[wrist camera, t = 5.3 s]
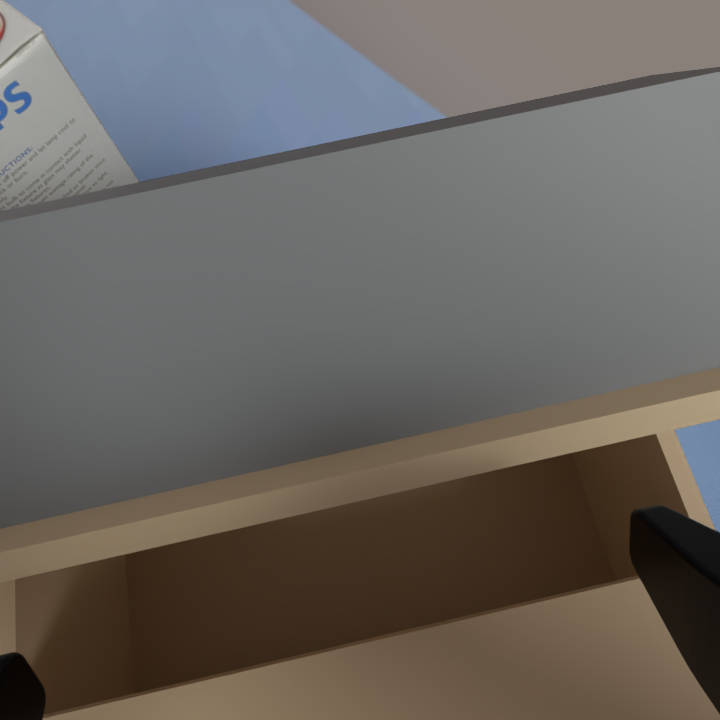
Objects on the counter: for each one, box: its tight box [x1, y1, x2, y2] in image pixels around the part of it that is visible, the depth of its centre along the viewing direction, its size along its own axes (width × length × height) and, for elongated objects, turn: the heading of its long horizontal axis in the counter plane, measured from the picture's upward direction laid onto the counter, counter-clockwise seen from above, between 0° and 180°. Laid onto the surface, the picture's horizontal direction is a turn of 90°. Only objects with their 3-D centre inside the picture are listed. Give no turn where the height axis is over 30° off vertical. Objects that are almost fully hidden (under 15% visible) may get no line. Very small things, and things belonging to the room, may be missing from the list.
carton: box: [0, 430, 720, 720], centre depth 17 cm, size 14×18×8 cm
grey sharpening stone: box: [0, 67, 720, 583], centre depth 12 cm, size 7×18×6 cm
